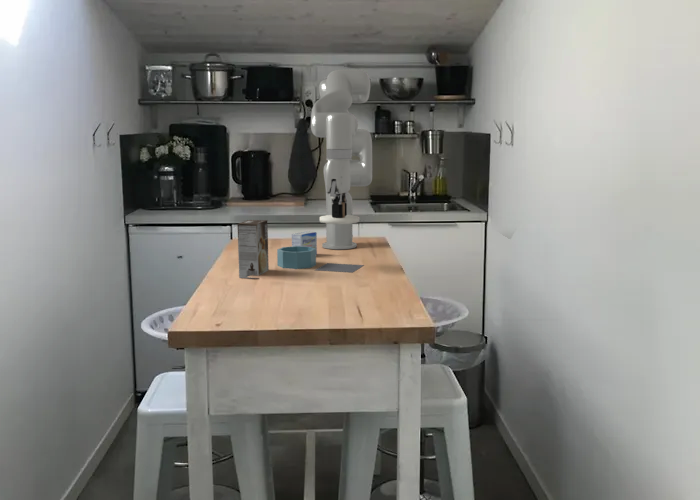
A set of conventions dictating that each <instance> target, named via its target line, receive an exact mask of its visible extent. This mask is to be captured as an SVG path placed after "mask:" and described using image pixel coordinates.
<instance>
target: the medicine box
mask: <svg viewBox="0 0 700 500" xmlns="http://www.w3.org/2000/svg"><path fill="white" fill-rule="evenodd" d="M317 234H318V233H317V232H316V231H311V230H309V231H308V230H307V231H303V232H297V233H296V232H295V233H292V234H291V246H304V247H312V248H315V249H316V256H317V254H318V246H317V242H318V240H317Z"/></svg>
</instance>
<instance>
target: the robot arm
mask: <svg viewBox="0 0 700 500" xmlns="http://www.w3.org/2000/svg"><path fill="white" fill-rule="evenodd" d="M318 91H319V92H318V93H319V96H320V97H319V99H318V100H316V101H315V102H314V104H313V106H312V107H311V108H312V109H311V113H310V129H311V133H312V134H313V136H315V137H316V138H325V140H326V153H325V154H326V161H327V162H326V163H325V164H324V166H323V180H324V185H325V205H326V206H325V211H326V213H325V216H326V215H332V217H333V218H342V217H343V204H341V202H344V203H345V216H346V215H353V197H352V195H351V193H350V192H349V191H351V187H367V186H369V185H371V183H372V181H373V141H372V135H371V133H370V132H371V131H369V130H368V129H364V128H359V123H358V122H359V121H358V118H357V117H356V116H355V114H354V113H351V112H350V111H349V108H351V106H352V104H364V103H367V102H368V100H369V99H370V92H371V78H370V75H369V74H368V72H367V71H366V70H364V69H359V68H358V69H356V68H355V69H351V68H350V69H335V70H333V71H332V70H331V72H329V73H328V74H327V77H326V78H325V79H323V80H321V81H320V83H319V85H318ZM353 157H357V158H359V159H353ZM325 224H326V225H325V227H326V229H325V231H326V241H325V242H323V243H322V245H321V246H322V248H324V249H327V250H350V249H355V248H357V245H358V244H357V243H356V242H353V237H354V235H353V223H351V224H327V223H325Z"/></svg>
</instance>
